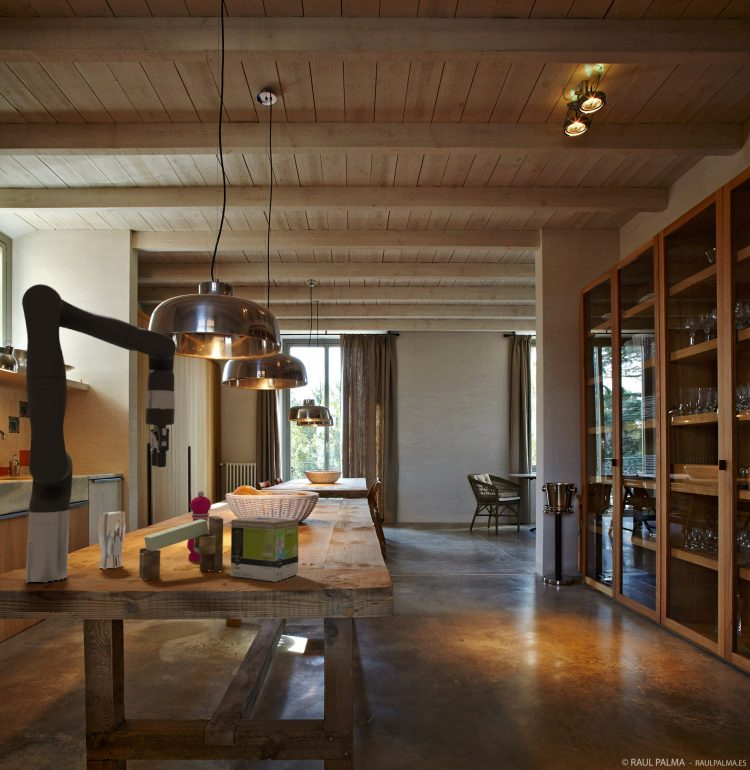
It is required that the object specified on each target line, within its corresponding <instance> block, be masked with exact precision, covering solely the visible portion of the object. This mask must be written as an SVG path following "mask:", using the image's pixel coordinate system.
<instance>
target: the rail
mask: <svg viewBox="0 0 750 770" xmlns="http://www.w3.org/2000/svg"><path fill="white" fill-rule="evenodd" d="M208 531H209V524H208V520H203V519H199V520H196V521H193V520H192V521H189V522H187V523H184V524H181V525H177V526H173V527H171V528H168V529H167V528H166V529H164V530H161V531H157V532H155V533H152V534H148V535H145V536H143V537H144V543H145V548H146V550H149V551H155V550H161V549H164V548H167V547H169V546H170V547H171V546H173V545H176V544H179V543H182V542H185V541H188V540H189V539H192V538H195V537H198V536H201V535H204V534H207V533H209V532H208Z"/></svg>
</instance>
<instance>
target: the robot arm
mask: <svg viewBox="0 0 750 770" xmlns="http://www.w3.org/2000/svg"><path fill="white" fill-rule="evenodd" d="M21 305H22V310H23V317H24V321H25V328H26V329H25V330H26V336H27V337H26V339H27V344H26V358H25V359H26V361H25V363H26V364H25V366H26V367H25V369H26V371H25V373H26V374H25V378H26V379H25V380H26V382H25V383H26V384H25V385H26V386H25V387H26V396H27V408H28V416H29V424H30V448H29V459H28V460H29V462H28V471H29V474H30V476H31V478H32V486H31V487H32V489H31V494H30V495H31V496H30V499H29V502H28V503H29V505H28V506H29V507H28V524H27V525H28V526H27V528H28V529H27V542H26V543H27V545H26V568H25V583H26V584H29V583H28V582H43V583H49V582H48V581H52V582H55V581H54V580H58V581H61V580H60V579H62V580H64V578H65V579H66V578H67V577H68V558H69V557H68V555H69V529H70V510H71V507H70V505H71V499H72V498H71V497H72V485H73V484H72V483H73V460H72V457H71V456H70V454H69V453H68V452H67V450H66V443H65V435H64V426H65V425H64V424H65V415H66V410H67V409H66V408H67V402H68V401H67V399H68V398H67V397H68V383H67V381H68V379H67V369H66V364H65V359H64V354H63V350H62V345H61V342H60V341H61V338H60V328H64V329H68V330H72V331H75V332H78V333H80V334H84V335H87V336H89V337H92V338H95V339H98V340H100V341H103V342H106V343H108V344H110V345H114V346H116V347H118V348H121V349H125V350H127V351H134V352H135V351H136V352H139V353H142V354H144V355H147V356H148V375H147V393H146V398H145V399H146V401H145V422H144V423H145V425H148V426H153V428H150V430H149V431H150V438H149V439H150V442H149V450H150V453H151V461H150V462H151V463H150V464H151V466H152V467H157V468H165V467H166V466H167V453H168V452H169V450H170V428H169V427H167V426H172V425H173V426H174V424H175V410H176V409H175V403H176V402H175V401H176V399H175V374H174V367H175V366H174V362H175V354H176V353H177V352H176V351H177V344H176V342H175V341H174V339H173V338H172V337H170V336H168V335H166V334H164V333H160V332H157V331H154V330H153V331H152V330H150V329H147V328H141V327H139V326H137V325H135V324H131V323H129V322H127V321H124V320H121V319H119V318H116V317H112V316H108V315H105V314H99V313H96V312H92V311H90V310H89V311H88V310H85V309H82V308H80V307H78V306H76V305H73V304H71V303H70V302H68V301H66V300H64V299H63V298H62V297H61V295H60V294H59V292H57V290H55V289H54V288H53V287H51V286H50V285H47V284H44V283H43V284H41V283H38V284H34V285H32V286H30V287H29V288H27V289H26V291H25V292H24V294H23V295H22V299H21Z"/></svg>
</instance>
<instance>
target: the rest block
mask: <svg viewBox="0 0 750 770" xmlns="http://www.w3.org/2000/svg"><path fill="white" fill-rule="evenodd" d="M161 553H162V552H161V549H158V550H155V551H149V550H146V547H140V548H139V563H138V565H139V566H138V567H139V569H138V571H139V573H138V576H139V575H140V576H139V578H140V579H141V578H142V579H143V580H142V579H141V580H142V581H145V580H144V579H151V580H154V579H153V578H160V576H161V574H160V573H161Z"/></svg>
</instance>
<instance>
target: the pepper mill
mask: <svg viewBox="0 0 750 770" xmlns="http://www.w3.org/2000/svg"><path fill="white" fill-rule="evenodd" d="M204 495H205V493H204V492H203V491H202V490H201V491H198V493H197V496H196V497H194V498H192V499H191V501H190V503H189V508H190V510H191V512H192V513H191V519H192V522H193V521H196V520H199V519H203V520H207V521H209V516H210V513H209V511H210V510H211V508H212V507H211V506H212V501H211V500H210V499H209V498H208V497H206V496H204ZM208 532H209V530H208ZM186 543H187V544H186V548H187V549H188V550H189V552H190V553H188V561H189V562H193V561H200V555H199V554H198V553H196V552H195V551H194V538H192V539H189V540H187V542H186Z"/></svg>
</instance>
